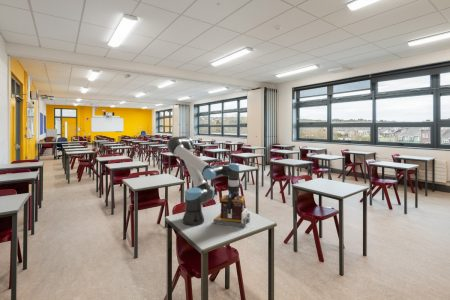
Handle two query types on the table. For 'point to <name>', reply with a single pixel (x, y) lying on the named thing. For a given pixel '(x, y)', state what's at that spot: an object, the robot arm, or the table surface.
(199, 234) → the table surface
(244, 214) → the pusher
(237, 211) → the supplement box
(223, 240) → the table surface
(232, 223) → the grey tray
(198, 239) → the table surface
